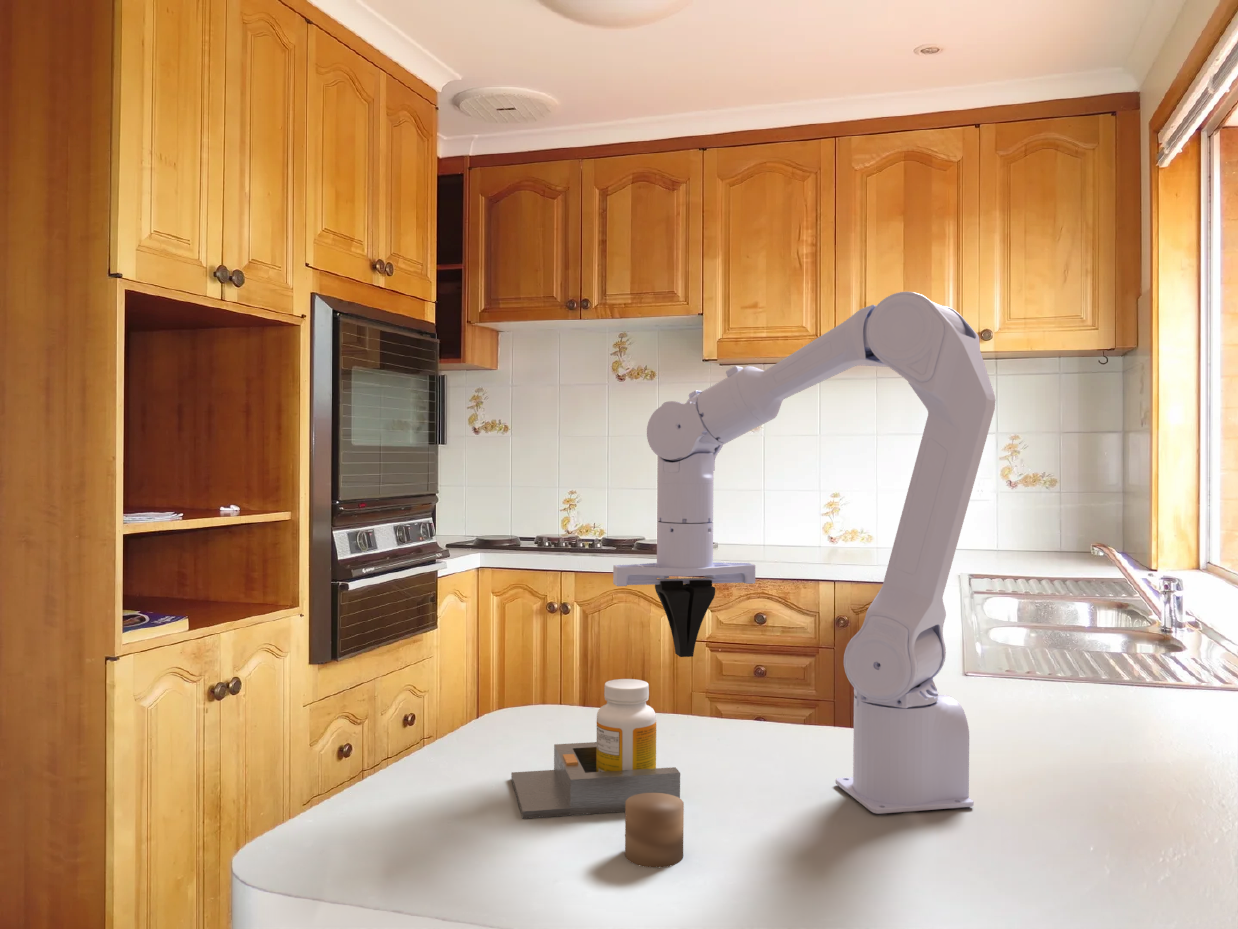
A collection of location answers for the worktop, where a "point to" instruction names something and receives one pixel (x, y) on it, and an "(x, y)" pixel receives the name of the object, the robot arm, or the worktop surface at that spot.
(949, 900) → the worktop surface
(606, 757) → the supplement bottle
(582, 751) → the socket
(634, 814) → the knob
